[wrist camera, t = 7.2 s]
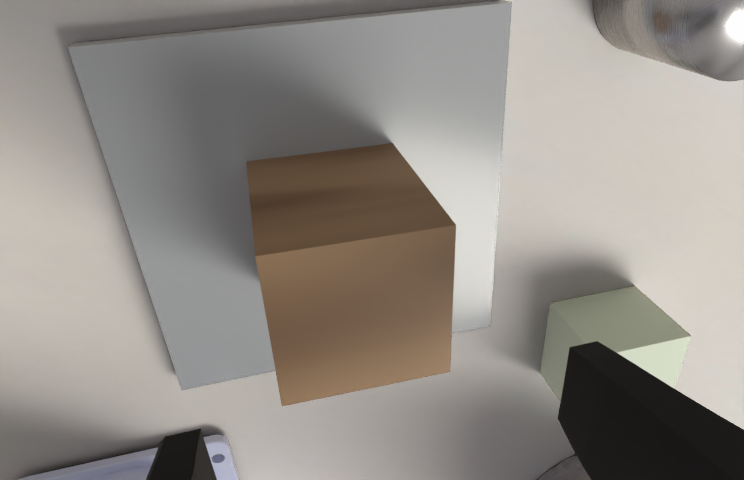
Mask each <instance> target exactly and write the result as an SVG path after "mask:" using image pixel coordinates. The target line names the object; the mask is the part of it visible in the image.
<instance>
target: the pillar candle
mask: <svg viewBox="0 0 744 480" xmlns="http://www.w3.org/2000/svg"><path fill="white" fill-rule="evenodd" d="M538 480H591V478H590V477H589V475H588V474H587V472H586V471H585V469H584V468H583V466H582V464H581V462H580V461H579V459H578V457H577V455H575V456H572V457H569V458H567V459H566V460H564V461H562V462H561V463H559V464H558V465H557V466H556V467H553V468H551V469H550V470H548V471H547V472H545V473H544V474H543V475H542V476H541V477H540V478H539V479H538Z"/></svg>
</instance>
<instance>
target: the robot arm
mask: <svg viewBox="0 0 744 480" xmlns="http://www.w3.org/2000/svg"><path fill="white" fill-rule="evenodd" d="M558 420H559V422H560V424H561V426H562V428H563V430H564V432H565V434H566V436H567V438H568V440H569V442H570V444H571V446H572V447H573V449H574V451H575V453H576V455H577V457H578V459H579V461H580V462H581V464H582V466H583V468H584V469H585V471H586V472H587V474H588V475H589V477H590V478H591V480H744V430H743V429H741V428H740V427H738V426H736V425H734V424H733V423H731V422H729V421H727V420H726V419H724V418H722V417H720V416H719V415H717V414H715V413H714V412H712V411H710V410H709V409H707V408H705V407H704V406H702V405H700V404H699V403H697V402H695V401H694V400H692V399H690V398H689V397H687V396H685V395H684V394H682V393H680V392H679V391H677V390H676V389H674V388H672V387H671V386H669V385H668V384H666V383H664V382H663V381H661V380H660V379H658V378H656V377H655V376H653V375H652V374H650V373H648V372H647V371H645V370H644V369H642V368H640V367H639V366H637V365H636V364H634V363H632V362H631V361H629V360H628V359H626V358H624V357H623V356H621V355H620V354H618V353H616V352H615V351H613V350H611V349H610V348H608V347H606V346H605V345H603V344H601V343H600V342H598V341H595V342H591V343H586V344H582V345H577V346H573V347H570V348H569V354H568V360H567V366H566V372H565V378H564V384H563V390H562V396H561V403H560V409H559V415H558ZM216 454H221V455H216ZM18 480H240V479H239V476H238V472H237V469H236V465H235V462H234V459H233V455H232V452H231V448H230V445H229V441H228V439H227V438H226V437H224V436H223V435H211V436H206V437H203V435H202V432H201V429H198V430H193V431H189V432H184V433H180V434H175V435H171V436H166V437H165V438H164V439H163V440H162V441H161V442H160V444H159V447H157V448H153V449H148V450H144V451H139V452H135V453H130V454H126V455H121V456H117V457H112V458H108V459H103V460H99V461H94V462H90V463H85V464H81V465H76V466H72V467H67V468H63V469H58V470H54V471H49V472H45V473H40V474H36V475H31V476H27V477H23V478H20V479H18Z"/></svg>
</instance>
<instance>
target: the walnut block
mask: <svg viewBox="0 0 744 480" xmlns="http://www.w3.org/2000/svg"><path fill="white" fill-rule="evenodd" d="M246 164H247V175H248V185H249V196H250V207H251V217H252V228H253V238H254V249H255V258H256V264H257V269H258V275H259V280H260V286H261V292H262V297H263V303H264V308H265V314H266V319H267V325H268V331H269V336H270V342H271V347H272V353H273V358H274V364H275V370H276V375H277V381H278V386H279V392H280V397H281V403H282V406H286V405H291V404H295V403H300V402H305V401H310V400H315V399H320V398H325V397H330V396H334V395H339V394H344V393H349V392H354V391H359V390H364V389H368V388H373V387H378V386H383V385H388V384H393V383H398V382H402V381H407V380H412V379H417V378H422V377H427V376H432V375H436V374H441V373H446V372H450V363H451V338H452V314H453V290H454V266H455V242H456V224H455V223H454V222H453V220H452V219H451V218H450V216H449V215H448V214H447V213H446V211H445V210H444V209H443V207H442V206H441V205H440V204H439V202H438V201H437V200H436V198H435V197H434V196H433V194H432V193H431V192H430V191H429V189H428V188H427V187H426V185H425V184H424V183H423V182H422V180H421V179H420V178H419V176H418V175H417V174H416V173H415V171H414V170H413V169H412V167H411V166H410V165H409V163H408V162H407V161H406V160H405V158H404V157H403V156H402V154H401V153H400V152H399V151H398V149H397V148H396V147H395V145H394V144H393V143H389V144H381V145H374V146H366V147H358V148H350V149H342V150H334V151H326V152H318V153H310V154H302V155H294V156H286V157H278V158H270V159H262V160H254V161H246Z"/></svg>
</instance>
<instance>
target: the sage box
mask: <svg viewBox="0 0 744 480" xmlns="http://www.w3.org/2000/svg"><path fill="white" fill-rule="evenodd" d="M690 339H691V335H690V334H689V333H688V332H686V331H685V330H684V329H683V328H682V327H681V326H680V325H678V324H677V323H676V322H675V321H674V320H673V319H672V318H671V317H669V316H668V315H667V314H666V313H665V312H664V311H663V310H662V309H660V308H659V307H658V306H657V305H656V304H655V303H654V302H652V301H651V300H650V299H649V298H648V297H647V296H646V295H645V294H643V293H642V292H641V291H640V290H639V289H638V288H637V287H635V286H632V287H627V288H622V289H617V290H612V291H607V292H602V293H597V294H592V295H587V296H582V297H577V298H572V299H567V300H562V301H557V302H552V303H550V306H549V313H548V320H547V327H546V334H545V342H544V349H543V356H542V363H541V371H540V373H541V375H542V376H543V377H544V379H545V380H546V382H547V383H548V385H549V386H550V387H551V389H552V390H553V392H554V393H555V395H556V396H557V397H558V399H559V400H560V402H561V396H562V390H563V384H564V378H565V372H566V366H567V360H568V354H569V348H570V347H573V346H577V345H582V344H586V343H591V342H595V341H598V342H600V343H601V344H603V345H605V346H606V347H608V348H610V349H611V350H613V351H615V352H616V353H618V354H620V355H621V356H623V357H624V358H626V359H628V360H629V361H631V362H632V363H634V364H636V365H637V366H639V367H640V368H642V369H644V370H645V371H647V372H648V373H650V374H652V375H653V376H655V377H656V378H658V379H660V380H661V381H663V382H664V383H666V384H668V385H669V386H671V387H672V388H674V389H675V386H676V383H677V379H678V376H679V373H680V370H681V367H682V364H683V361H684V358H685V354H686V351H687V348H688V345H689V342H690Z"/></svg>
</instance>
